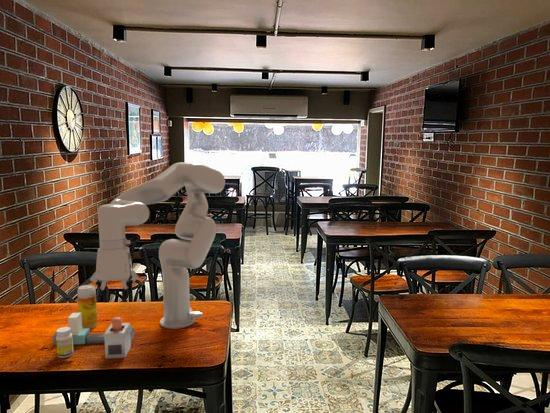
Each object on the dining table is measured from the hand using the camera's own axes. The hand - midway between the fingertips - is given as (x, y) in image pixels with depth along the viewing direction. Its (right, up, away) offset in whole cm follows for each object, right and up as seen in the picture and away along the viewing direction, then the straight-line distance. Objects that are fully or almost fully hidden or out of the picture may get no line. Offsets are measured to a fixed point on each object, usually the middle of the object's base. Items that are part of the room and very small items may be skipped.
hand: (115, 300), depth 137 cm
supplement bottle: (-16, -18, +1) cm, 24 cm away
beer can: (-18, -15, +22) cm, 32 cm away
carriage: (-17, -16, +10) cm, 25 cm away
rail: (-11, -16, +10) cm, 22 cm away
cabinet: (0, -17, +2) cm, 17 cm away
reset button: (0, -10, +1) cm, 10 cm away
